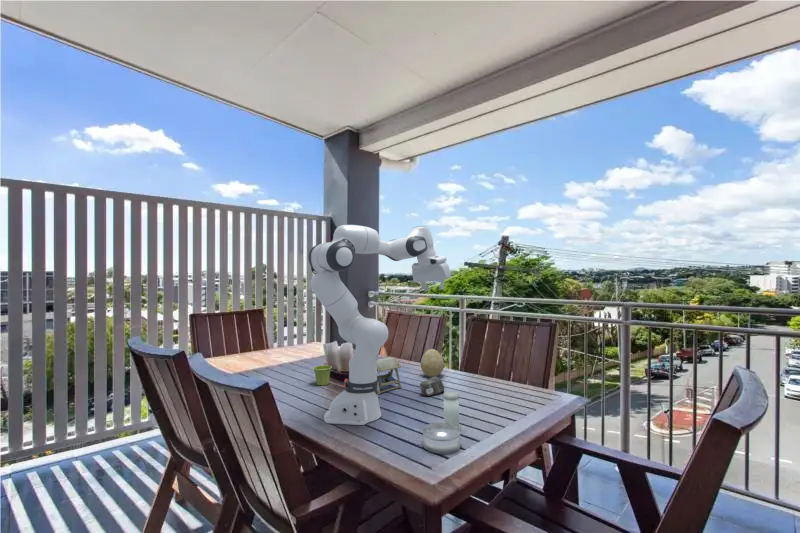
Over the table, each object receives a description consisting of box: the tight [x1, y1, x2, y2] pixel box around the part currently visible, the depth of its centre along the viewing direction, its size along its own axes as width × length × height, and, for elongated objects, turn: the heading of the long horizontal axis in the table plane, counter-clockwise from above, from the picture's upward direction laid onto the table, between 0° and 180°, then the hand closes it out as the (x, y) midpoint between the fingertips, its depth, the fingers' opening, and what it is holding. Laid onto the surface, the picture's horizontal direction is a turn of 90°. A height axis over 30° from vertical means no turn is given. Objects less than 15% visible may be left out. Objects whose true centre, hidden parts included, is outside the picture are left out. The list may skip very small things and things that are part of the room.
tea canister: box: [442, 391, 460, 428], centre depth 137 cm, size 6×6×12 cm
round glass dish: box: [422, 422, 462, 455], centre depth 122 cm, size 12×12×5 cm
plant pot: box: [312, 364, 333, 387], centre depth 193 cm, size 9×9×9 cm
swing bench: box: [377, 356, 402, 396], centre depth 183 cm, size 15×10×15 cm, turn 134°
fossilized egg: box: [420, 348, 445, 378], centre depth 205 cm, size 13×13×15 cm
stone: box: [419, 376, 445, 397], centre depth 176 cm, size 14×8×10 cm, turn 139°
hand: (434, 290), depth 172 cm, fingers open, 8 cm apart
